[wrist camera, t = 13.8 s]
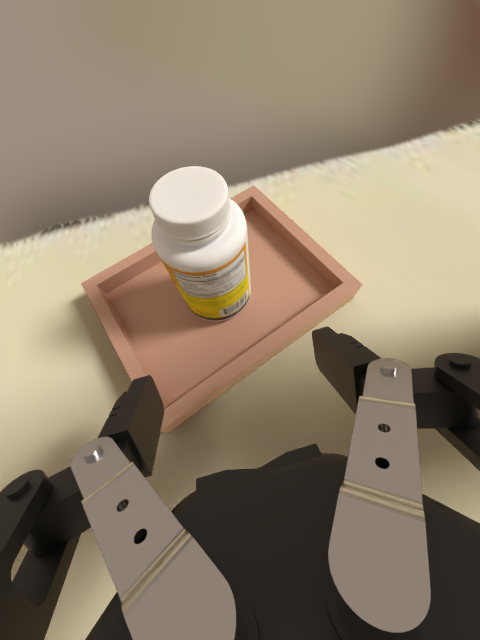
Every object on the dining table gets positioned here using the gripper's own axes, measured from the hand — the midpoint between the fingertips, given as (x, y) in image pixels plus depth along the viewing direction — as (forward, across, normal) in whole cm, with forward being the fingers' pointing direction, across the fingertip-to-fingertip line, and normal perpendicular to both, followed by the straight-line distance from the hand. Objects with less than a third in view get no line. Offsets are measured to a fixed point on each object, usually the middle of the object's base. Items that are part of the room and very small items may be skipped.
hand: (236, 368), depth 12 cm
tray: (+11, 0, -1) cm, 11 cm away
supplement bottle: (+11, 0, -1) cm, 11 cm away
